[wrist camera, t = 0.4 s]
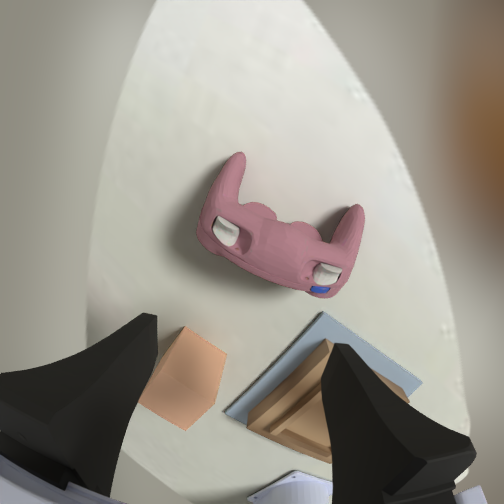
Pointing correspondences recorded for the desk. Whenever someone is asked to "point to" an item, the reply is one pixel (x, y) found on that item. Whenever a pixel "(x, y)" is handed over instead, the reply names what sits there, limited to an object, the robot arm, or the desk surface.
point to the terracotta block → (185, 380)
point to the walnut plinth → (301, 408)
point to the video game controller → (276, 239)
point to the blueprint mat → (304, 347)
